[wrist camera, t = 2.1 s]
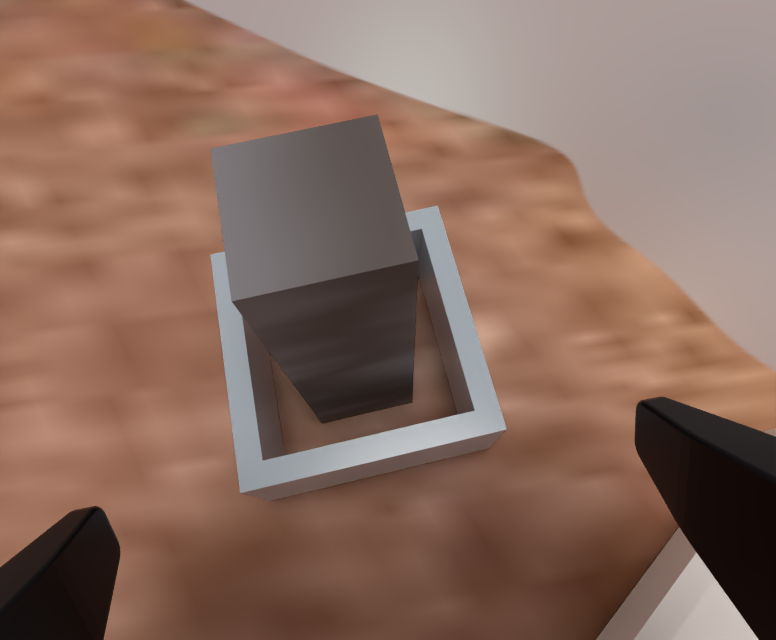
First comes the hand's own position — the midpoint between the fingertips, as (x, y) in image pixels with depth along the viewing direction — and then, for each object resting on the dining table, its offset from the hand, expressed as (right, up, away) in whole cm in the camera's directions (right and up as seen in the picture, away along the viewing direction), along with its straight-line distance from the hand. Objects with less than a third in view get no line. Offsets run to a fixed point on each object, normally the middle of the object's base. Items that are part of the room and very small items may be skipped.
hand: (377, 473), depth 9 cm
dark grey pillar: (-1, +1, +13) cm, 13 cm away
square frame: (-1, +1, +13) cm, 13 cm away
